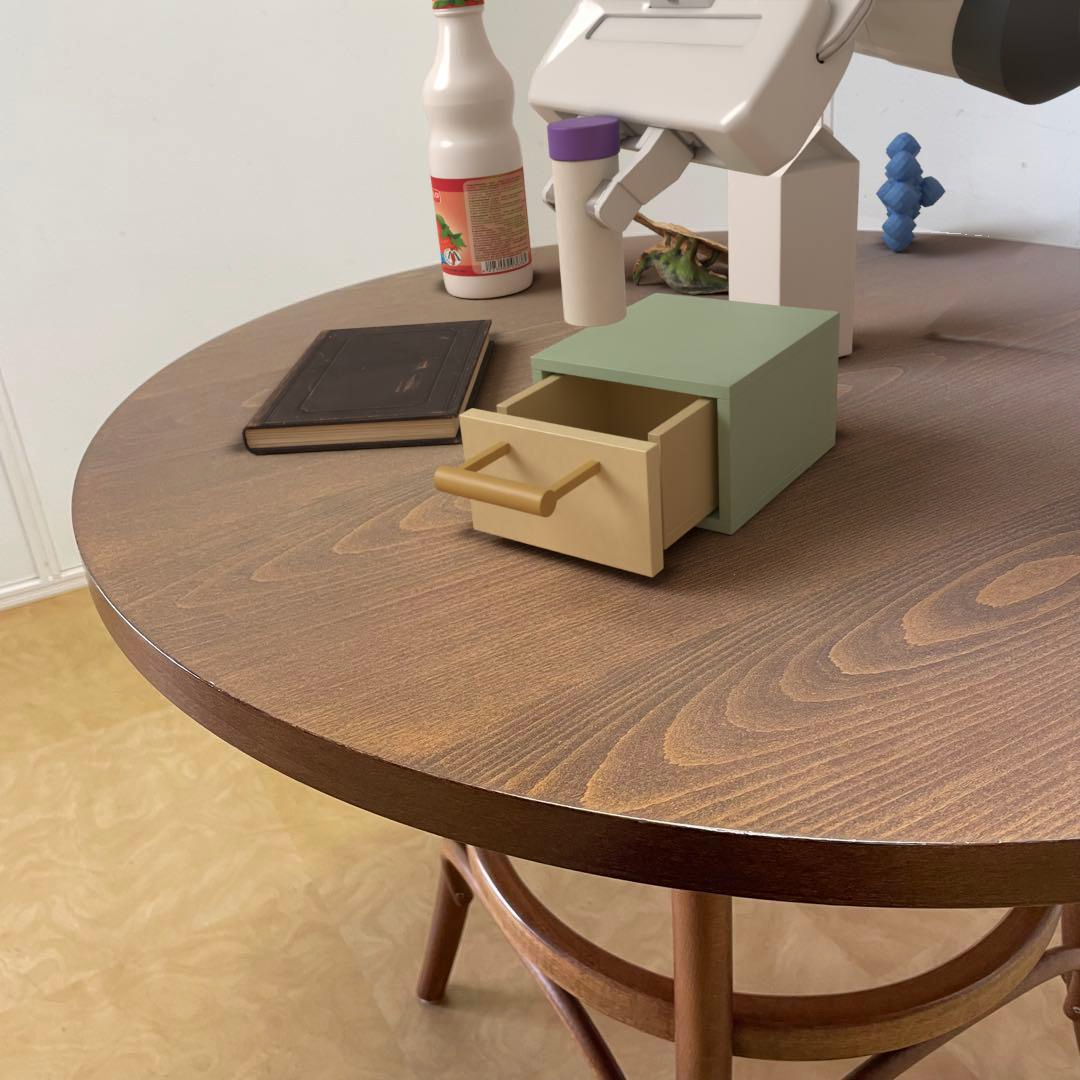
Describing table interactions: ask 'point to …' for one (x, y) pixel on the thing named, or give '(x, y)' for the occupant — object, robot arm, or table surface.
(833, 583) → the table surface
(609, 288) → the glue stick
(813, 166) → the milk carton
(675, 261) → the green animal figurine
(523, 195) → the fruit juice
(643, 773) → the table surface
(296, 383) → the hardcover book
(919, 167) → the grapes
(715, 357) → the cabinet
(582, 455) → the drawer
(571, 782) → the table surface
